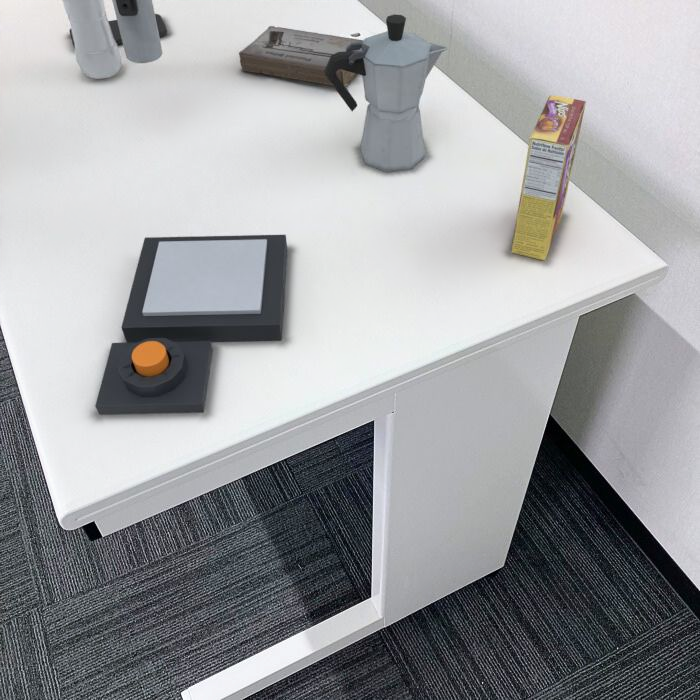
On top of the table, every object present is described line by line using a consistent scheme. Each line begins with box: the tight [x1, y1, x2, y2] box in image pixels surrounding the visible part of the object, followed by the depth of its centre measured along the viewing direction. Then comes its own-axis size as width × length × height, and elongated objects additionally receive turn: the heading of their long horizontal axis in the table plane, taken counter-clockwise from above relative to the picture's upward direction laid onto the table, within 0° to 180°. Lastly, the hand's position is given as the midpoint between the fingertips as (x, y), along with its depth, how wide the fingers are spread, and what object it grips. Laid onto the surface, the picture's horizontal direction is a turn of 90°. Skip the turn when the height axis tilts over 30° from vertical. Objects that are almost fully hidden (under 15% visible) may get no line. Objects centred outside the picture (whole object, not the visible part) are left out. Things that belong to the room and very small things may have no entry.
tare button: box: [132, 341, 169, 377], centre depth 70 cm, size 3×3×2 cm
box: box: [238, 25, 364, 87], centre depth 112 cm, size 11×17×3 cm, turn 66°
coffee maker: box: [324, 13, 448, 173], centre depth 91 cm, size 15×9×18 cm, turn 100°
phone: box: [69, 13, 168, 50], centre depth 121 cm, size 7×1×15 cm
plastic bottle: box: [61, 0, 123, 80], centre depth 106 cm, size 6×7×20 cm
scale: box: [121, 234, 288, 343], centre depth 80 cm, size 16×14×3 cm
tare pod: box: [95, 338, 214, 415], centre depth 72 cm, size 10×8×3 cm
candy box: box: [511, 94, 587, 261], centre depth 81 cm, size 9×4×15 cm, turn 157°
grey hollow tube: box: [112, 0, 163, 64], centre depth 89 cm, size 4×4×10 cm
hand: (133, 4), depth 88 cm, fingers closed on grey hollow tube, 4 cm apart
